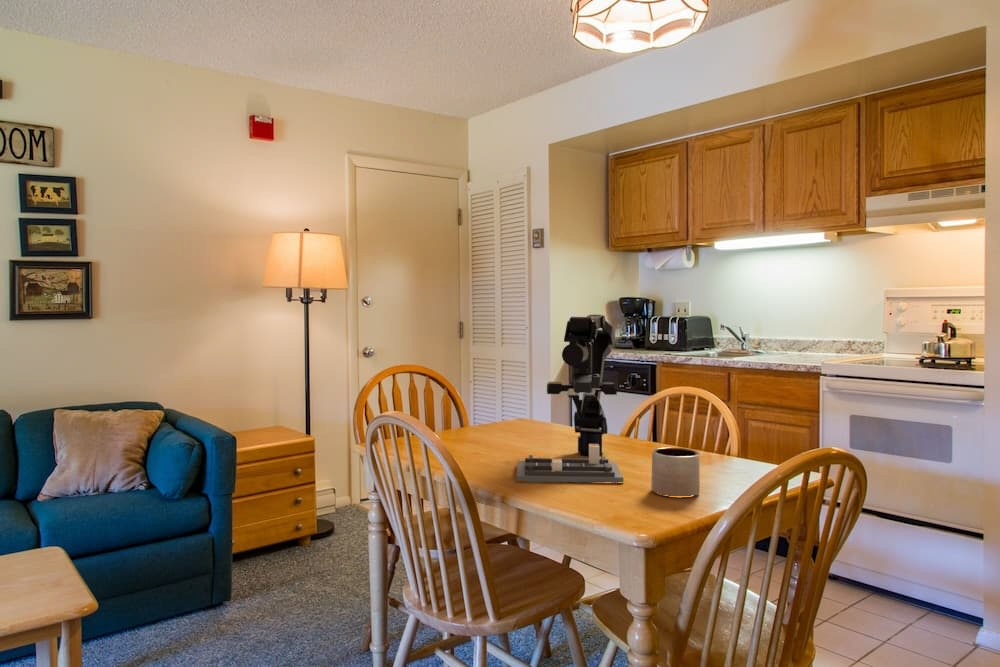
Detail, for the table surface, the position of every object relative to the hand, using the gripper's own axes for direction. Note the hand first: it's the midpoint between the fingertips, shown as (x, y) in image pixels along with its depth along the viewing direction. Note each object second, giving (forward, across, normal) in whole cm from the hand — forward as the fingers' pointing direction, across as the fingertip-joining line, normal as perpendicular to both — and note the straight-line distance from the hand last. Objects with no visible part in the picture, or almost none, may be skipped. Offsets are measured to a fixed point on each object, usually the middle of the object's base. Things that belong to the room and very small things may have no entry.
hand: (580, 419), depth 186 cm
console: (+12, -4, -13) cm, 18 cm away
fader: (+10, +3, -9) cm, 14 cm away
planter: (+12, +20, -28) cm, 36 cm away
